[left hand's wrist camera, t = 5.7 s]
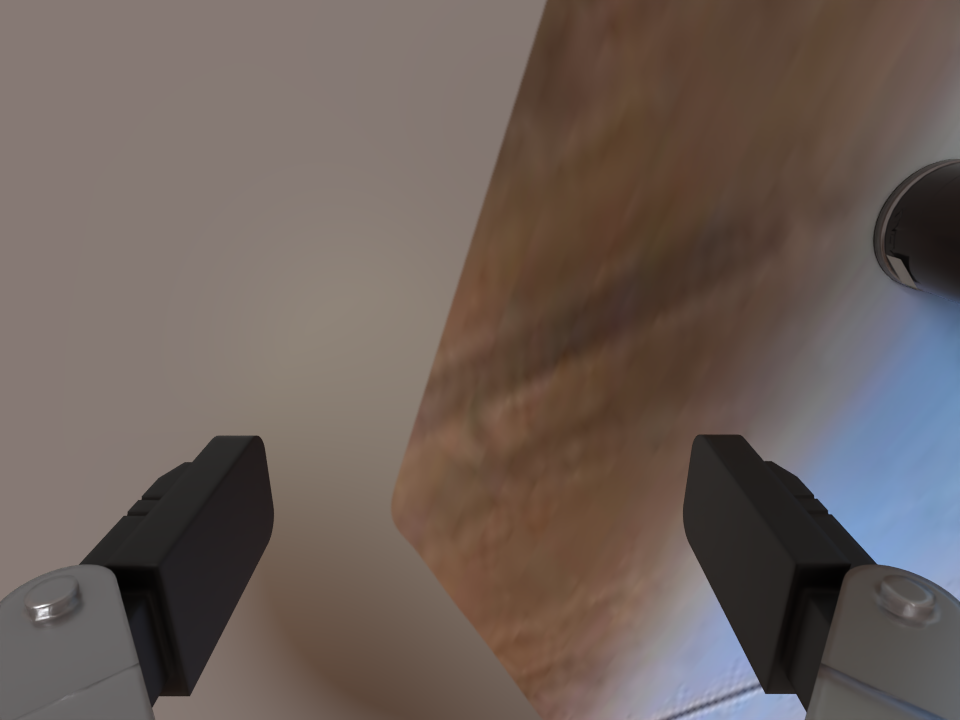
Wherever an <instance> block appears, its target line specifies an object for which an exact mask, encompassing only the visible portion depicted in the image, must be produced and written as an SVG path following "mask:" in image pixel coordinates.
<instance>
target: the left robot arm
mask: <svg viewBox="0 0 960 720" xmlns="http://www.w3.org/2000/svg"><path fill="white" fill-rule="evenodd" d="M874 246H875V252H876V256H877V259H878V262H879V264H880V266H881V267H882V269H883V270H884V272H885V273H886V274H887V275H888V276H889V277H891V278H892V279H893V280H895V281H896V282H898V283H900V284H902V285H905V286H908V287H910V288H913V289H916V290H921V291H926V292H928V293H931V294H934V295H936V296H939V297H941V298H944V299H947V300H950V301H952V302H955V303H958V304H960V159H950V160H944V161H940V162H937V163H934V164H931V165H929V166H927V167H924V168H922V169H921V170H919V171H917V172H916V173H914V174H913V175H911V176H910V177H909V178H907V179H906V180H905V181H904V182H903V183H902V184H901V185H899V187H898V188H897V189H896V190H895V191H894V192H893V193H892V195H891V196H890V197H889V199H888V200H887V202H886V203H885V205H884V207H883V209H882V211H881V213H880V215H879V218H878V221H877V225H876V229H875V237H874ZM273 521H274V508H273V501H272V494H271V487H270V480H269V473H268V467H267V460H266V453H265V447H264V443H263V441H262V439H261V438H260V437H259V436H216V437H214V438H213V439H212V440H211V441H210V442H209V443H208V445H207V446H206V447H205V448H204V449H203V450H202V452H201V453H200V454H199V455H198V456H197V457H196V459H195V460H194V461H193V462H185V463H183V464H181V465H180V466H178V467H176V468H175V469H173V470H171V471H170V472H168V473H166V474H165V475H163V476H161V477H160V478H158V479H157V481H156V482H155V483H154V484H153V485H152V486H151V487H150V488H149V489H148V490H147V491H146V493H145V494H144V495H143V496H142V500H138V501H137V502H136V503H135V504H134V505H133V507H132V508H131V509H130V510H129V511H128V514H127V516H123V517H122V518H121V520H120V521H119V522H118V523H117V524H116V525H115V526H114V527H113V528H112V529H111V530H110V531H109V533H108V534H107V535H106V536H105V537H104V538H103V539H102V540H101V541H100V542H99V543H98V545H97V546H96V547H95V548H94V549H93V550H92V551H91V552H90V553H89V554H88V555H87V556H86V558H85V559H84V560H83V561H82V562H81V563H80V564H79V565H75V566H69V567H65V568H61V569H58V570H54V571H51V572H48V573H46V574H43V575H41V576H38V577H36V578H34V579H32V580H30V581H28V582H27V583H25V584H23V585H21V586H20V587H18V588H17V589H15V590H14V591H12V592H11V593H10V594H9V595H7V596H6V597H5V598H4V599H3V600H2V601H1V602H0V720H155V717H154V714H153V710H152V707H153V705H154V704H155V702H156V700H157V698H158V697H159V696H190V695H191V693H192V691H193V689H194V687H195V685H196V683H197V681H198V679H199V677H200V675H201V673H202V671H203V669H204V667H205V666H206V664H207V662H208V660H209V658H210V656H211V654H212V652H213V650H214V648H215V646H216V644H217V642H218V640H219V638H220V636H221V634H222V632H223V630H224V628H225V626H226V625H227V623H228V621H229V619H230V617H231V615H232V613H233V611H234V609H235V607H236V605H237V603H238V601H239V599H240V597H241V595H242V593H243V591H244V589H245V587H246V586H247V584H248V582H249V580H250V578H251V576H252V574H253V572H254V570H255V568H256V566H257V564H258V562H259V560H260V558H261V556H262V554H263V552H264V550H265V548H266V546H267V545H268V542H269V540H270V537H271V533H272V529H273ZM683 522H684V528H685V533H686V536H687V539H688V542H689V544H690V546H691V548H692V550H693V552H694V554H695V556H696V558H697V560H698V561H699V563H700V565H701V567H702V569H703V571H704V573H705V575H706V577H707V579H708V581H709V583H710V585H711V587H712V589H713V591H714V593H715V595H716V597H717V599H718V601H719V603H720V605H721V607H722V609H723V611H724V613H725V615H726V617H727V619H728V621H729V623H730V625H731V627H732V629H733V631H734V633H735V635H736V637H737V639H738V641H739V643H740V644H741V646H742V648H743V650H744V652H745V654H746V656H747V658H748V660H749V662H750V664H751V666H752V668H753V670H754V672H755V674H756V676H757V678H758V680H759V682H760V684H761V686H762V688H763V690H764V692H765V694H797V696H798V698H799V700H800V701H801V703H802V705H803V707H804V709H805V710H806V712H807V714H806V717H805V720H960V602H959V601H958V600H957V599H956V598H955V597H954V596H953V595H951V594H950V593H949V592H948V591H946V590H945V589H943V588H942V587H940V586H939V585H937V584H935V583H933V582H932V581H930V580H928V579H926V578H924V577H922V576H919V575H917V574H914V573H912V572H909V571H906V570H903V569H899V568H895V567H891V566H885V565H877V564H876V562H875V561H874V560H873V559H872V558H871V557H870V556H869V555H868V554H867V553H866V552H865V550H864V549H863V548H862V547H861V546H860V545H859V544H858V543H857V542H856V541H855V539H854V538H853V537H852V536H851V535H850V534H849V533H848V532H847V531H846V530H845V529H844V527H843V526H842V525H841V524H840V523H839V522H838V521H837V520H836V519H835V518H834V517H833V515H832V514H828V510H827V509H826V508H825V507H824V506H823V504H822V503H821V502H820V501H819V500H818V499H814V495H813V494H812V492H811V491H810V490H809V489H808V488H807V487H806V486H805V485H804V484H803V483H802V482H801V480H800V479H799V478H798V477H797V476H795V475H793V474H792V473H790V472H788V471H787V470H785V469H783V468H782V467H780V466H779V465H777V464H775V463H774V462H772V461H763V460H762V458H761V457H760V456H759V455H758V454H757V453H756V451H755V450H754V449H753V448H752V447H751V446H750V444H749V443H748V442H747V441H746V440H745V439H744V438H743V437H742V436H741V435H697V436H696V438H695V439H694V441H693V445H692V450H691V457H690V464H689V471H688V478H687V485H686V491H685V498H684V505H683Z"/></svg>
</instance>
